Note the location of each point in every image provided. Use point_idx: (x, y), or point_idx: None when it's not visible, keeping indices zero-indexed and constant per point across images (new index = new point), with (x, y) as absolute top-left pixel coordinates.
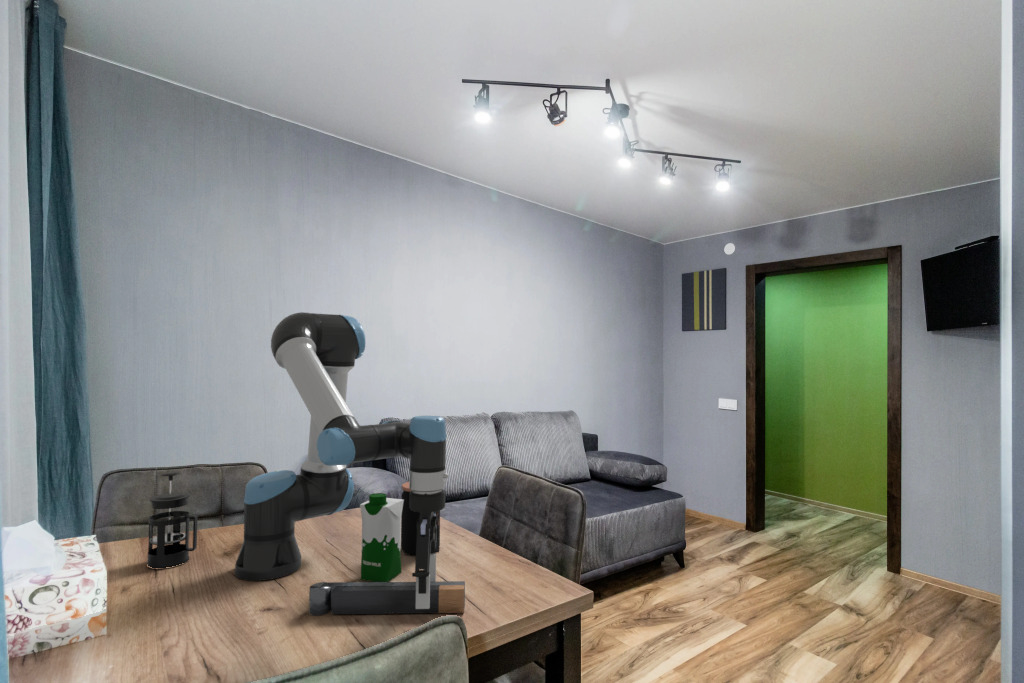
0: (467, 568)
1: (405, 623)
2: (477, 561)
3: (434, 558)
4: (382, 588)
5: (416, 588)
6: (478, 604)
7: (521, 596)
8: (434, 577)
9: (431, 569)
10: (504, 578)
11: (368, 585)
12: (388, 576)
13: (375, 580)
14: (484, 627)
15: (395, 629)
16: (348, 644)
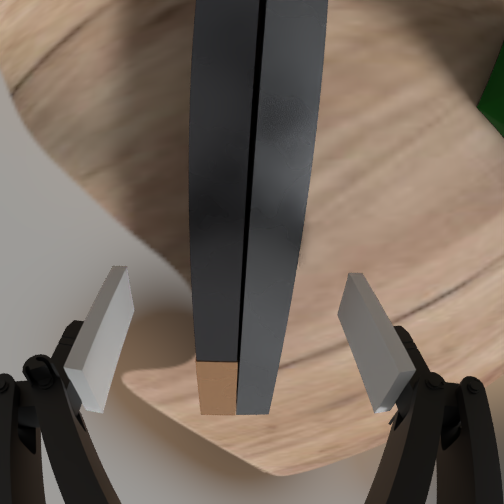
0: (475, 335)
1: (134, 203)
2: (493, 346)
3: (371, 394)
4: (217, 103)
5: (86, 322)
6: None
7: (289, 432)
8: (345, 331)
9: (360, 345)
10: None
11: (274, 14)
12: (496, 122)
13: (494, 74)
14: (139, 385)
15: (92, 176)
16: (11, 56)
